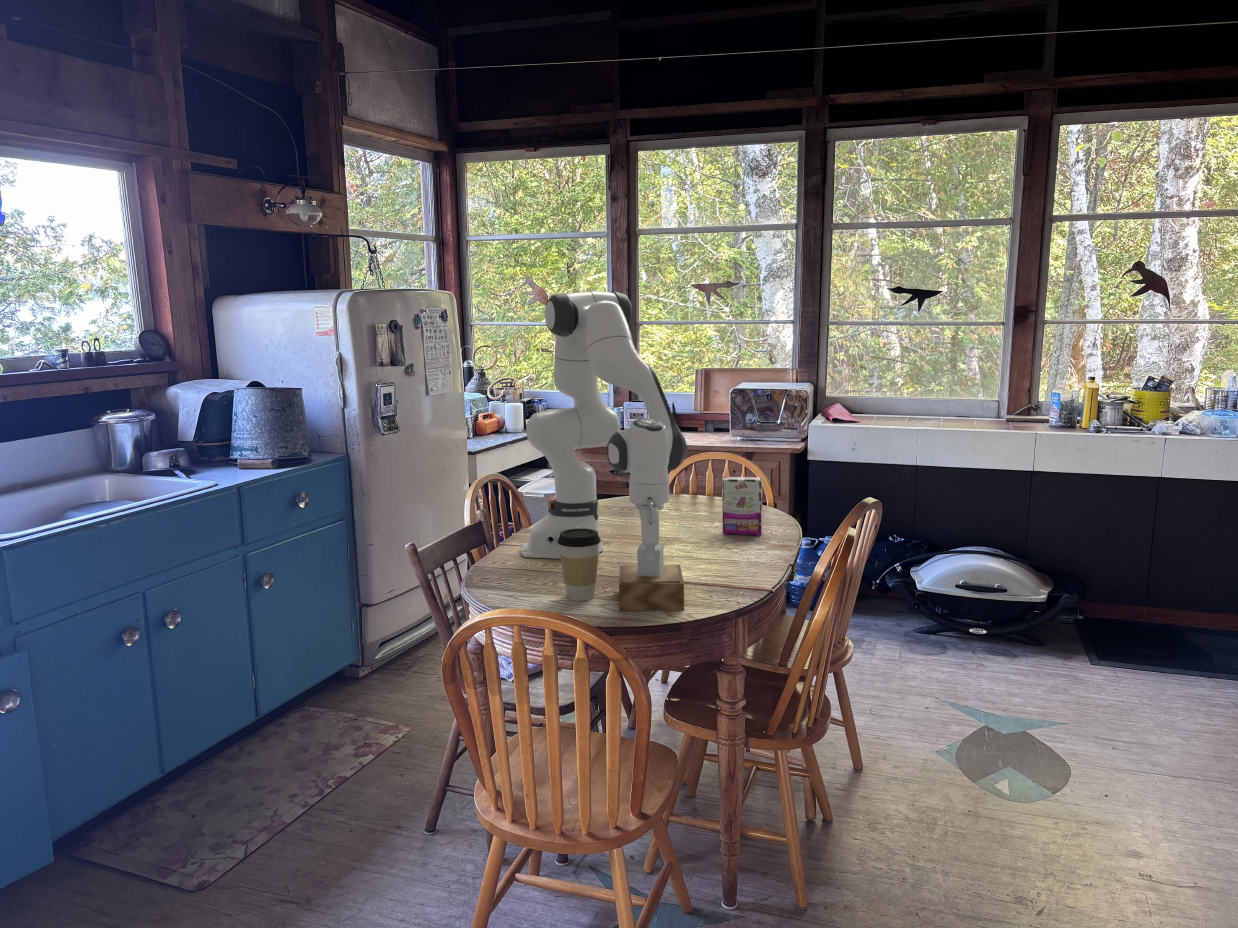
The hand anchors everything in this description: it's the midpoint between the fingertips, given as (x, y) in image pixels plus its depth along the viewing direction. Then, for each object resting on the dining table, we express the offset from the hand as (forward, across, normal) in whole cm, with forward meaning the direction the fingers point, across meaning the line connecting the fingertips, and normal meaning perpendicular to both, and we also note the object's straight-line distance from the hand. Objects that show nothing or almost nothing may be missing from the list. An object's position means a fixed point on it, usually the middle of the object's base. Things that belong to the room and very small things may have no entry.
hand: (649, 553), depth 192 cm
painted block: (+4, 0, 0) cm, 4 cm away
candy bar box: (+12, +56, -28) cm, 64 cm away
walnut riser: (+11, 0, 0) cm, 11 cm away
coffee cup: (+11, +2, +16) cm, 19 cm away
